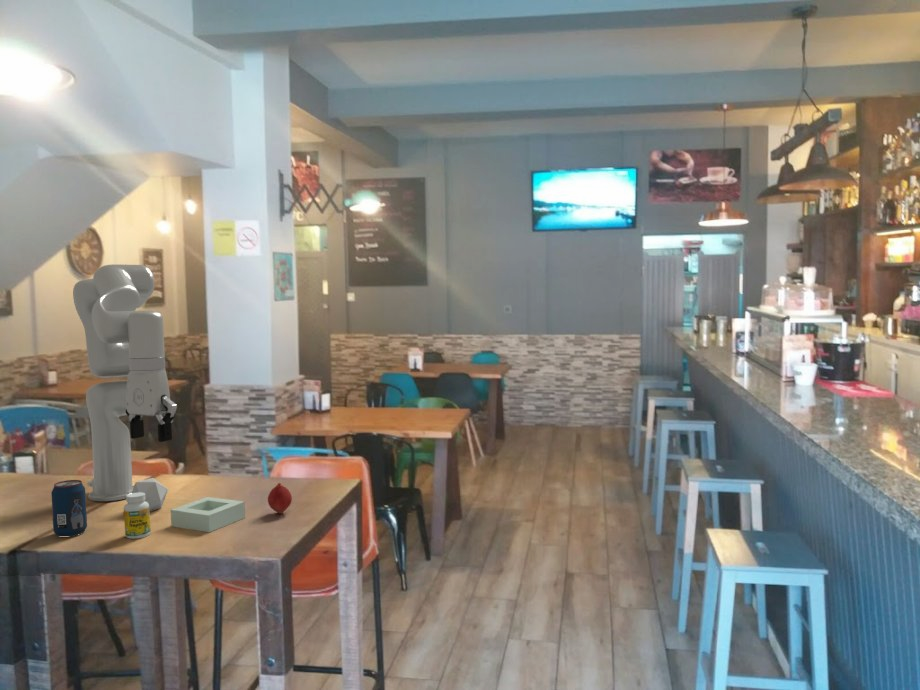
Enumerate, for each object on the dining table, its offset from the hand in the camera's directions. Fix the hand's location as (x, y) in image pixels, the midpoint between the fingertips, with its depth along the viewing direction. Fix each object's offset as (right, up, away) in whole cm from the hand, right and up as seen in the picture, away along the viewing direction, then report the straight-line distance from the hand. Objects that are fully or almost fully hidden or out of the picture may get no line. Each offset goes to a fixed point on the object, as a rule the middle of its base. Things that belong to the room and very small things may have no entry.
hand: (151, 439), depth 168 cm
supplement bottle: (-3, -22, -1) cm, 23 cm away
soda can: (-19, -22, +2) cm, 30 cm away
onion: (+26, -21, +15) cm, 37 cm away
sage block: (+10, -21, +9) cm, 25 cm away
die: (-9, -21, +20) cm, 30 cm away
